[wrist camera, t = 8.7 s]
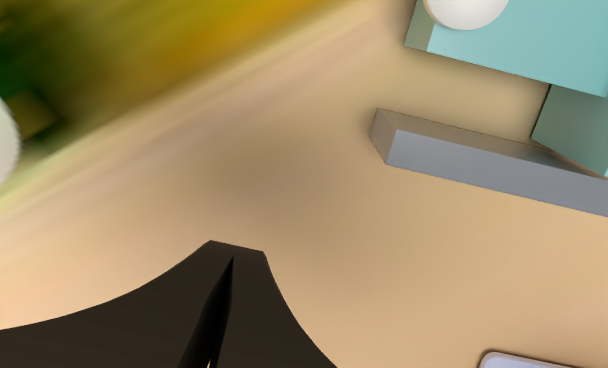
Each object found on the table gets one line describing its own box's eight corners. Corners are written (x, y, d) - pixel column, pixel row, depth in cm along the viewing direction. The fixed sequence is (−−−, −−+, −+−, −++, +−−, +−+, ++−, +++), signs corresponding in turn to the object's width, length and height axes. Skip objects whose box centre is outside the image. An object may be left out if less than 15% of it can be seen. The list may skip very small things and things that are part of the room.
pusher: (565, 147, 20) (649, 186, 15) (368, 98, 19) (390, 123, 14) (661, -81, 17) (798, -119, 13) (437, -146, 17) (492, -213, 12)
